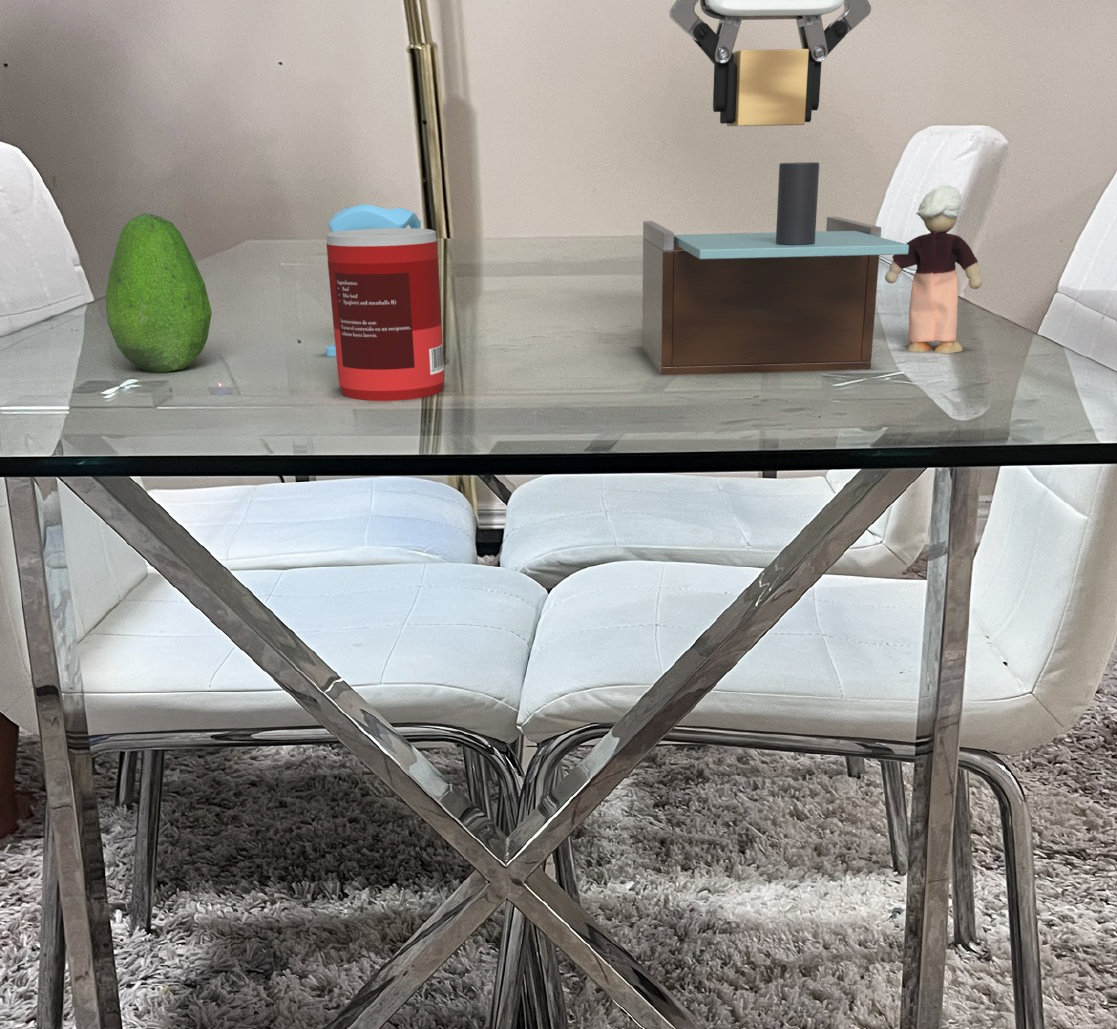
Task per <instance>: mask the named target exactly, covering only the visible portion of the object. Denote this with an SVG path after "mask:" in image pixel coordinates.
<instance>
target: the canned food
mask: <svg viewBox="0 0 1117 1029" xmlns="http://www.w3.org/2000/svg"><path fill="white" fill-rule="evenodd" d="M325 244H326V254H327V255H326V256H327V269H328V280H329V291H330V292H329V293H330V304H331V312H332V314H331V315H332V324H333V336H334V344H335V347H336V356H335V358H336V368H337V369H336V370H337V379H338V385H339V388H340V391H341V394H342V395H343V397H346V398H348V399H353V400H358V401H370V402H371V401H372V402H391V401H392V402H395V401H396V402H397V401H408V400H416V399H417V400H418V399H424V398H428V397H432V396H436V395H438V394H440V393H442V392H443V388H444V384H445V365H444V363H445V362H444V344H443V326H442V324H443V323H442V304H441V285H440V283H441V282H440V265H439V250H438V248H439V247H438V238H437V231H435V230H433V229H429V228H421V229H416V228H411V227H410V228H409V227H408V228H407V227H406V228H386V229H360V230H346V231H337V232H331V231H330V232H329V233H327V234H326V243H325Z"/></svg>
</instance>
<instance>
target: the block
mask: <svg viewBox="0 0 1117 1029" xmlns="http://www.w3.org/2000/svg"><path fill="white" fill-rule="evenodd" d="M732 53H733V54H734V63H736V65H737V93H736V119H735V122H733V123H728V124H726V126H727V127H767V126H769V127H770V126H771V127H772V126H776V127H777V126H805V123H806V122H805V109H806V91H807V73H808V55H809V49H802V48H790V49H789V48H785V49H784V48H782V49H781V48H779V49H777V48H776V49H775V48H774V49H740V50H737V51H734V52H733V51H732Z"/></svg>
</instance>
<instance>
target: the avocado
mask: <svg viewBox="0 0 1117 1029" xmlns="http://www.w3.org/2000/svg"><path fill="white" fill-rule="evenodd" d="M105 291H106V292H105V297H104V298H105V308H106V321H107V326H108V327H109V330H110V333H111V335H112V337H113V340H114V342H115V344H116V347H117V349H118V350H119V351H120V352H121V353H122V355H123V356H124V357H125V359H126V360H128V361H129V362H130V363H131V364H133V365H134V366H136V367H138V368H139V369H141V370H143V371H144V372H146V373H153V374H155V373H156V374H157V373H158V374H163V373H170V372H177V371H183V370H184V369H186V368H187V367H188V366H189V365H191V363H193V362H194V361H195V359H197V358H198V357H199V356H200V354H201V353H202V352H203V350H204V348H205V345H206V343H207V341H208V338H209V333H210V327H211V319H212V314H213V311H212V307H211V303H210V300H209V295H208V291H207V288H206V283H205V281H204V279H203V276H202V274H201V271H200V269H199V268H198V266H197V263H196V261H195V259H194V257H193V255H192V253H191V251H190V249H189V246H188V245H187V243H186V241H185V239H184V237H183V236H182V233H181V232H180V230H179V229H178V228H177V227H176V226H175V224H174V223H173V222H172V221H169V220H167V219H166V218H163V217H161V216H159V215H155V214H151V213H146V212H144V213H142V214H139V215H138V216H135V217H133V218H131V219H130V220H129V221H128V222H127V223H125V225H124V227H123V228H122V230H121V232H120V234H119V238H118V241H117V244H116V248H115V251H114V255H113V259H112V263H111V267H110V270H109V274H108V280H107V285H106V290H105Z"/></svg>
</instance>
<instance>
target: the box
mask: <svg viewBox="0 0 1117 1029" xmlns="http://www.w3.org/2000/svg"><path fill="white" fill-rule="evenodd" d="M825 228H826V229H825V232H828V231H858V232H862V233H866V234H869V235H873V236H877V237H881V238H882V227H881V226H877V225H874V224H869V223H865V222H861V221H856V220H851V219H849V218H844V217H839V216H827V217H826V226H825ZM674 235H675V232H674V231H672V230H670V229H668V228H666V227H664V226H663V225H661V224H659V223H657V222H655V221H653V220H644V221H643V222H642V320H641V322H642V325H641V326H642V332H641V334H642V336H641V339H642V342H641V345H642V347H641V349H642V350H643V351H644V353H645V354H646V356H647V357H648V358H649V360H650V361H651V363H652V364H653V365H654V367H655V368H656V370H657V371H658V372H659V374H660V375H661V376H672V375H673V376H674V375H675V376H676V375H680V376H681V375H710V374H711V375H712V374H713V375H714V374H717V375H718V374H744V373H745V374H747V373H748V374H749V373H785V372H786V373H787V372H788V373H789V372H820V371H821V372H822V371H826V372H827V371H859V370H860V371H861V370H863V371H864V370H871V368H872V367H871V366H872V357H873V342H874V330H875V318H876V317H875V316H876V303H877V291H878V290H877V289H878V277H879V264H880V255H858V256H817V257H776V258H734V259H699V258H697V257H695V256H694V255H692V254H690V253H689V252H687V251H685V250H684V249H682V248H680V247H679V246H677V245H675V244H674Z"/></svg>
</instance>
